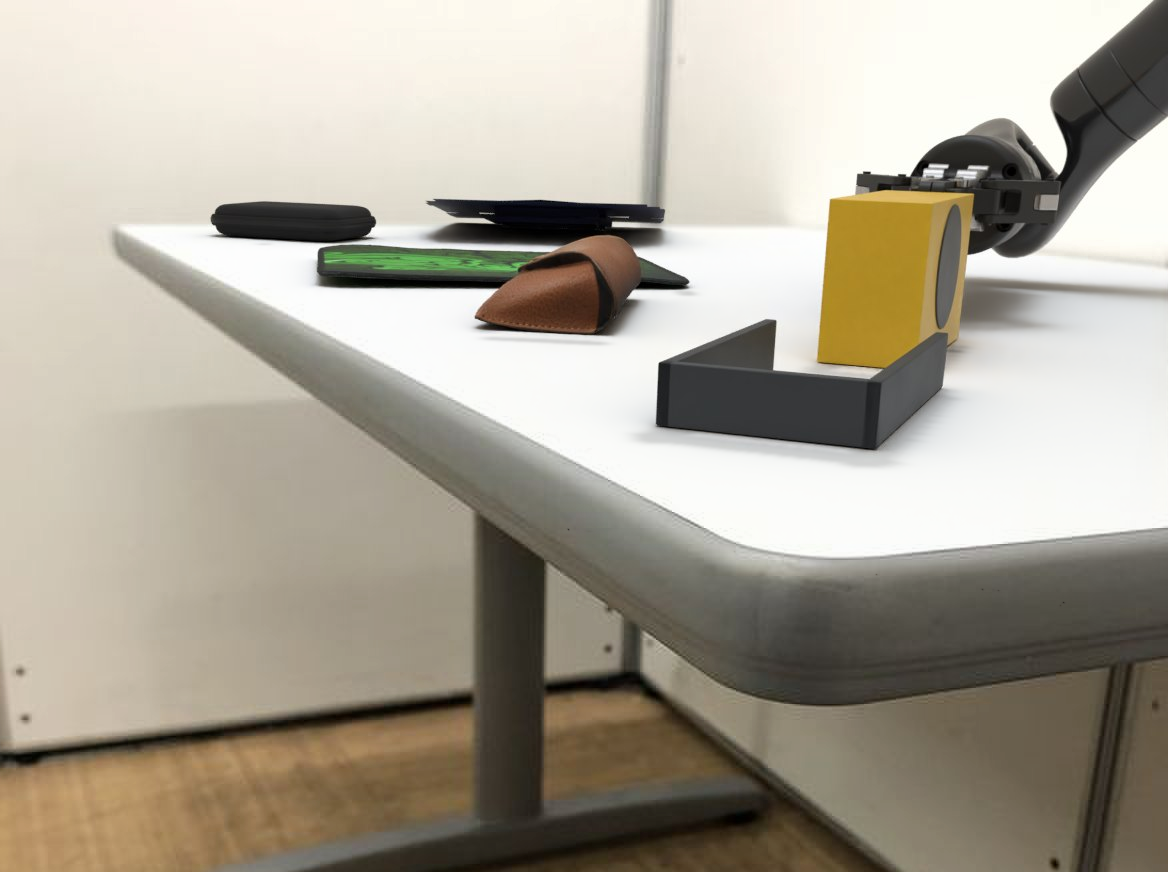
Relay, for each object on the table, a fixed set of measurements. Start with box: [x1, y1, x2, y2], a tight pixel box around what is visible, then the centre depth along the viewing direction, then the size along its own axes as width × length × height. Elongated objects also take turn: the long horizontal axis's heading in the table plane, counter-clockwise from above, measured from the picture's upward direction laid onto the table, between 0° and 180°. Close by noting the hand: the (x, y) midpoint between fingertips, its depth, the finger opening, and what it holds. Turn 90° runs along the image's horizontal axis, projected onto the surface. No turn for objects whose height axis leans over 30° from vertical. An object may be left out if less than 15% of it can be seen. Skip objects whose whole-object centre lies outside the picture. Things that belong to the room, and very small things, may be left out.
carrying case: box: [209, 200, 377, 242], centre depth 139 cm, size 11×3×15 cm
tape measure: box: [816, 190, 974, 369], centre depth 75 cm, size 13×5×8 cm, turn 156°
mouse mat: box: [316, 244, 691, 286], centre depth 110 cm, size 27×22×1 cm
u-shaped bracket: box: [655, 318, 948, 450], centre depth 60 cm, size 15×9×2 cm, turn 157°
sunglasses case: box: [473, 234, 641, 335], centre depth 87 cm, size 18×7×7 cm
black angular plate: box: [425, 198, 666, 239], centre depth 149 cm, size 24×30×4 cm
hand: (929, 202), depth 79 cm, fingers closed
